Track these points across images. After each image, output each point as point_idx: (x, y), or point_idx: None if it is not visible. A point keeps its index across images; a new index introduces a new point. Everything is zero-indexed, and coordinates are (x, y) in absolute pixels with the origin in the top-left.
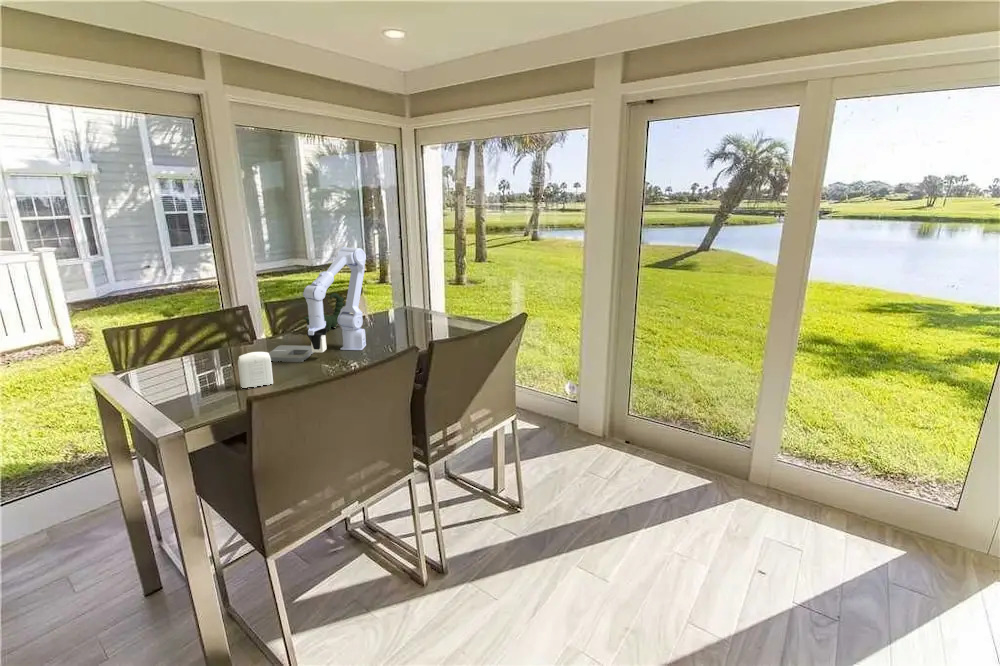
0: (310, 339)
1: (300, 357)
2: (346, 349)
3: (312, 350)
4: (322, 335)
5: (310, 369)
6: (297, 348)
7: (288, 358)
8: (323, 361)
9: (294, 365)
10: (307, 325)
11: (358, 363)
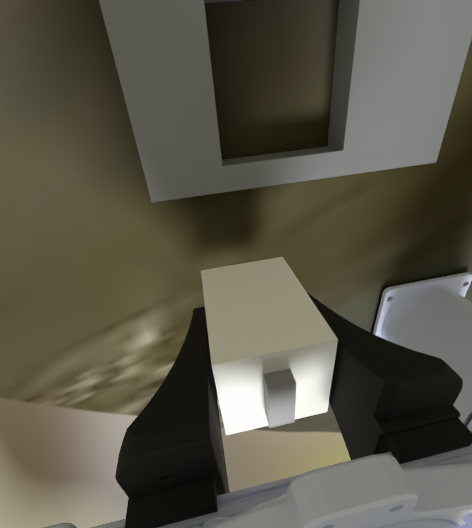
0: (162, 385)
1: (157, 182)
2: (378, 315)
3: (202, 282)
4: (316, 400)
5: (54, 301)
6: (395, 9)
7: (118, 69)
8: (201, 297)
9: (70, 170)
10: (358, 514)
11: None
